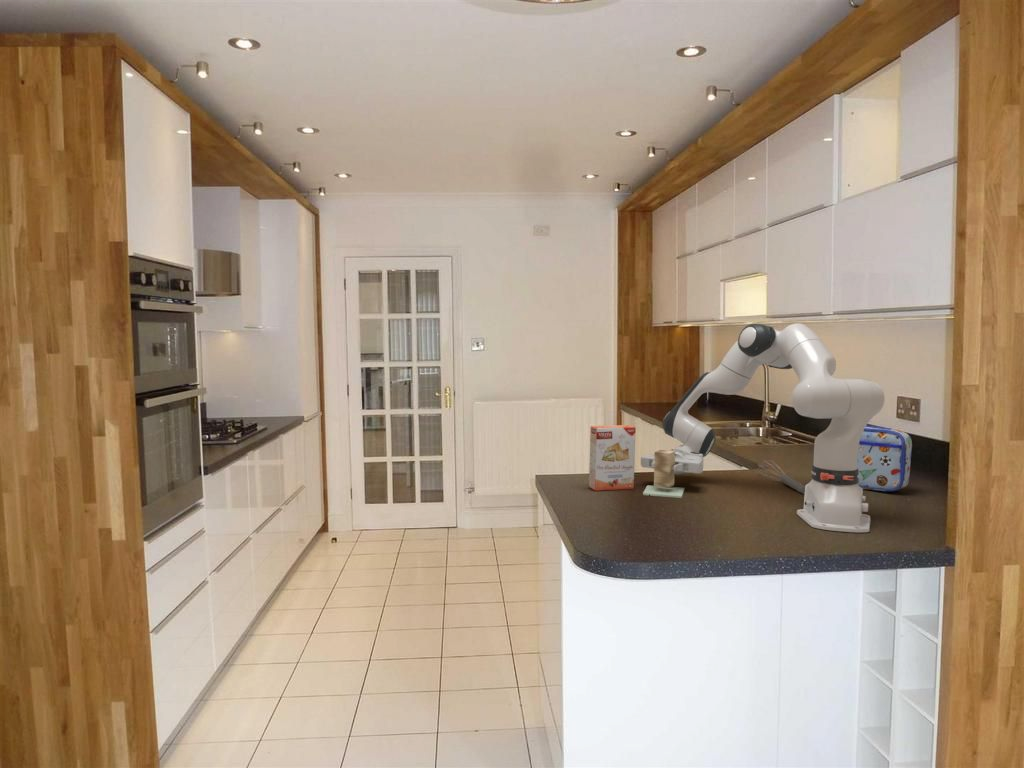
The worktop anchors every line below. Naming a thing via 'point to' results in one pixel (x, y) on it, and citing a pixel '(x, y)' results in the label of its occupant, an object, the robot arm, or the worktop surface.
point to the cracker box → (612, 457)
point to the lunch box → (884, 459)
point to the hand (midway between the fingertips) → (663, 467)
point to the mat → (663, 491)
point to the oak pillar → (664, 468)
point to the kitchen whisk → (787, 480)
